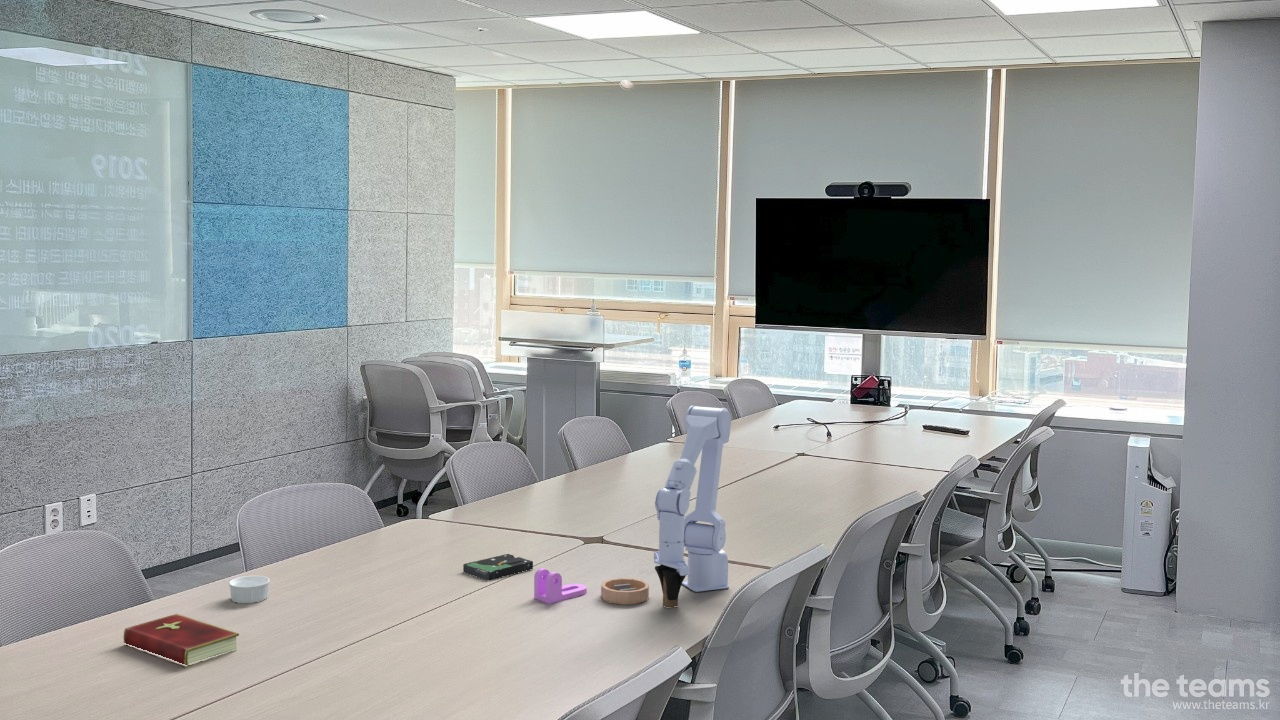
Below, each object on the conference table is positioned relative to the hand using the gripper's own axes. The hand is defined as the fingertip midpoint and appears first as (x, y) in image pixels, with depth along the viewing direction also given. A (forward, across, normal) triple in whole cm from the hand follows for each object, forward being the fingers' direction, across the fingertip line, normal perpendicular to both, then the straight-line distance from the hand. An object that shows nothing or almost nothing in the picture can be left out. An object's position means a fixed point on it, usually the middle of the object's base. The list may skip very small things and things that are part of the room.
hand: (670, 598), depth 258 cm
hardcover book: (+3, -12, -104) cm, 105 cm away
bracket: (+2, -17, -20) cm, 26 cm away
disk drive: (+3, -42, -28) cm, 51 cm away
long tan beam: (+2, 0, 0) cm, 2 cm away
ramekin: (+2, -41, -88) cm, 97 cm away
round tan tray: (+2, -10, -7) cm, 12 cm away
